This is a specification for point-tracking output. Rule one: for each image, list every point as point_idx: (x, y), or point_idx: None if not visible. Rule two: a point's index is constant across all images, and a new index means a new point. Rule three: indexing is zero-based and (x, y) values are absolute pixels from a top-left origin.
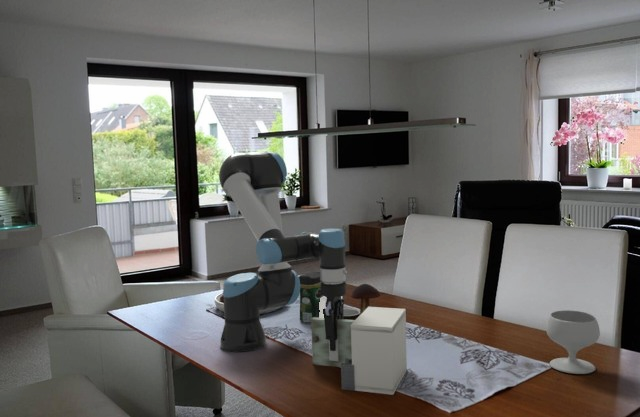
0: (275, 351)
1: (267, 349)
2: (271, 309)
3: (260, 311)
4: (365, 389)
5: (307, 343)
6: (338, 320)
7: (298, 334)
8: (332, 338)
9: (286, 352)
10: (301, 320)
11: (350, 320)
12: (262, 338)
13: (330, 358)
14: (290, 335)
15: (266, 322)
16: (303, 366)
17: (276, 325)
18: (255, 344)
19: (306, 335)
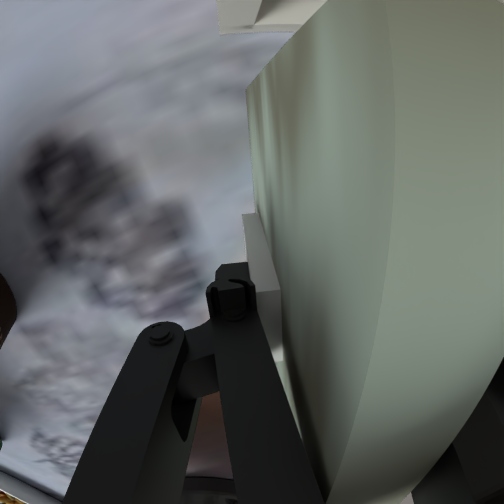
0: (216, 452)
1: (211, 466)
2: (18, 484)
3: (41, 496)
4: None
5: (94, 410)
6: (424, 453)
7: (57, 438)
8: None
9: (208, 433)
10: (1, 444)
11: (458, 260)
12: (196, 496)
13: None
14: (79, 451)
15: (60, 485)
16: None
17: (56, 474)
18: (229, 491)
19: (46, 423)
